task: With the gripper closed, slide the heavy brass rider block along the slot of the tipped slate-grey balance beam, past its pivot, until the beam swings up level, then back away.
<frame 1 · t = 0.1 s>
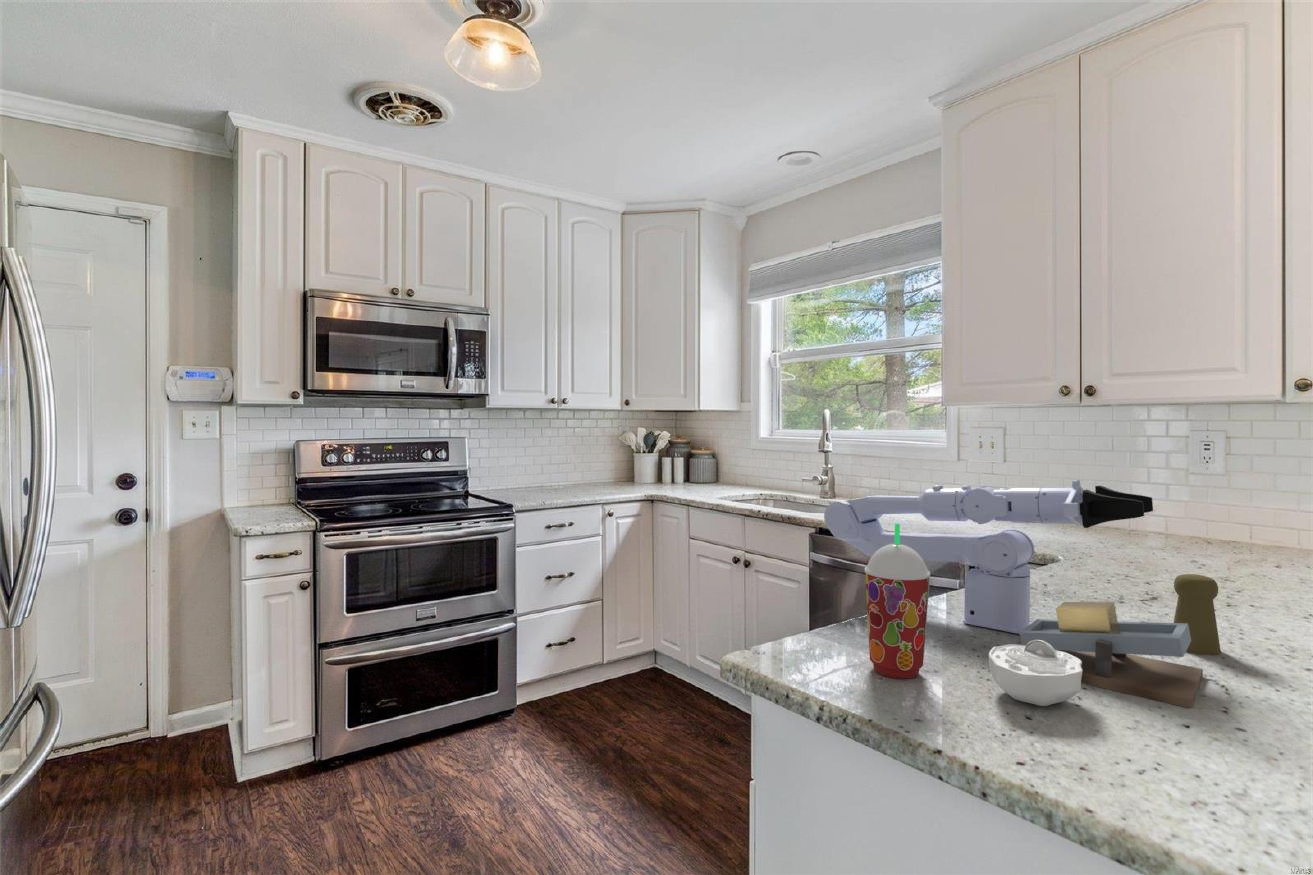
hand: (1148, 506, 97), 22 cm above the counter, tool horizontal, fingers open, 7 cm apart
rider: (1090, 634, 91), point 5 cm above the counter, tilted 10°, touching beam
smoothie: (895, 673, 89), on the counter
cork: (1194, 649, 100), on the counter
beam: (1102, 636, 90), point 5 cm above the counter, hinge at -9.8°, touching rider
cell model: (1034, 701, 80), on the counter
stand: (1111, 672, 89), on the counter
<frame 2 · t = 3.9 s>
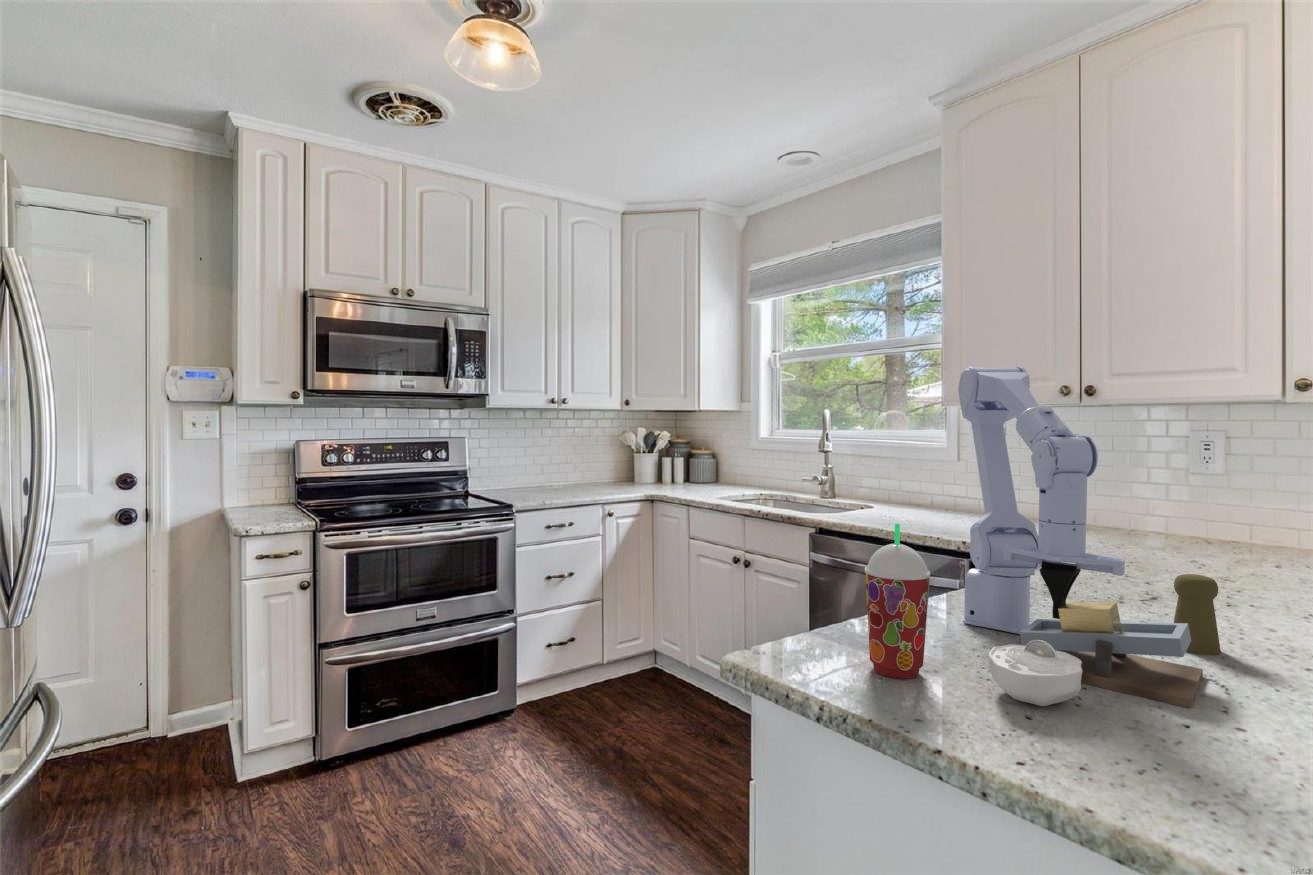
hand: (1059, 617, 93), 6 cm above the counter, tool pointing down, fingers closed, pressing on rider
rider: (1092, 635, 91), point 5 cm above the counter, tilted 10°, touching beam, gripper
everything else where it was.
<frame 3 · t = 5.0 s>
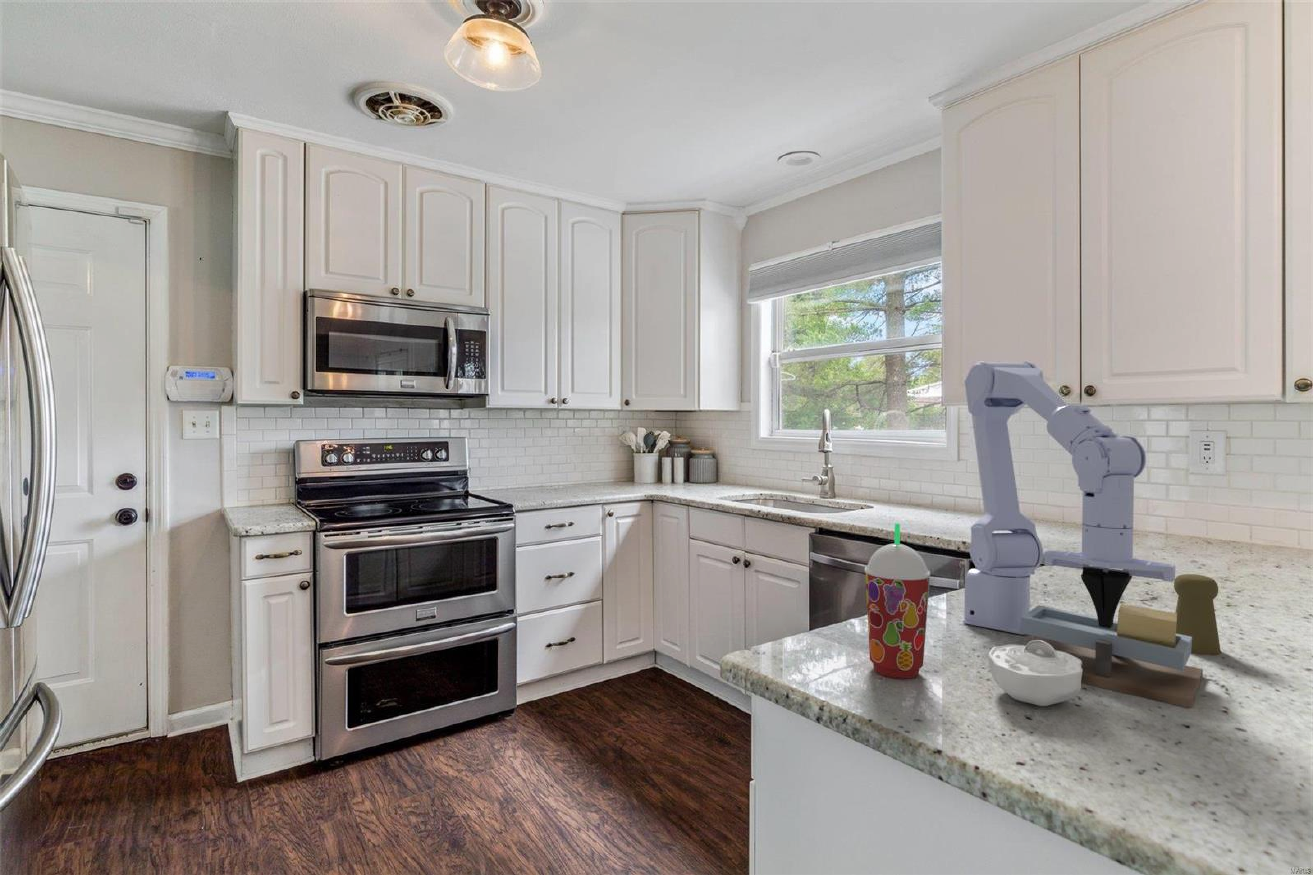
hand: (1105, 625, 90), 6 cm above the counter, tool pointing down, fingers closed
rider: (1145, 642, 87), point 5 cm above the counter, touching beam, gripper
beam: (1103, 634, 90), point 5 cm above the counter, hinge at 2.4°, touching rider
everything else where it was.
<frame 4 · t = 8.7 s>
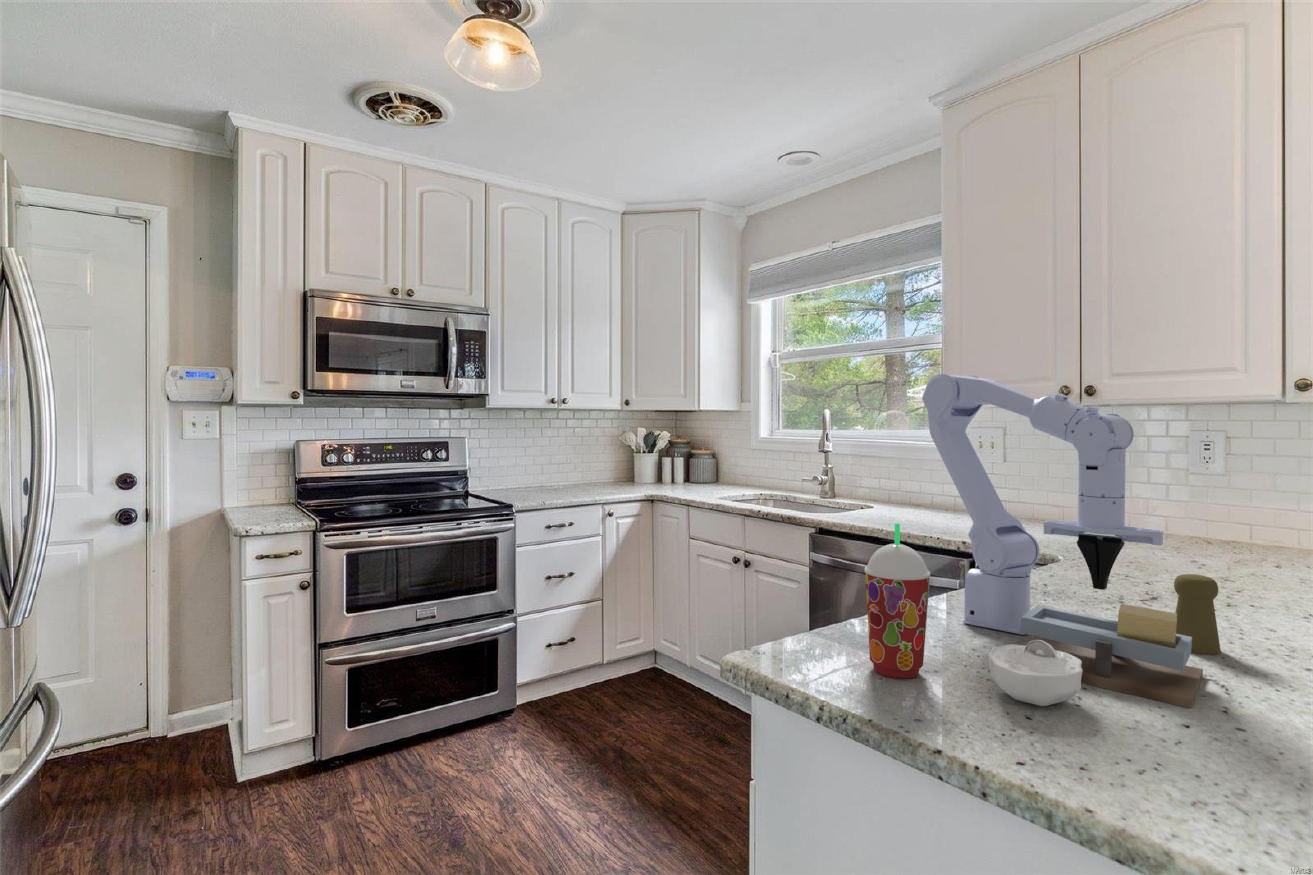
hand: (1100, 588, 98), 9 cm above the counter, tool pointing down, fingers closed
rider: (1145, 642, 87), point 5 cm above the counter, touching beam
everything else where it was.
at the end: beam at +3° (first picture: -10°); rider 0.4 cm from the target spot on the beam, point 0.4 cm above the beam's base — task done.
